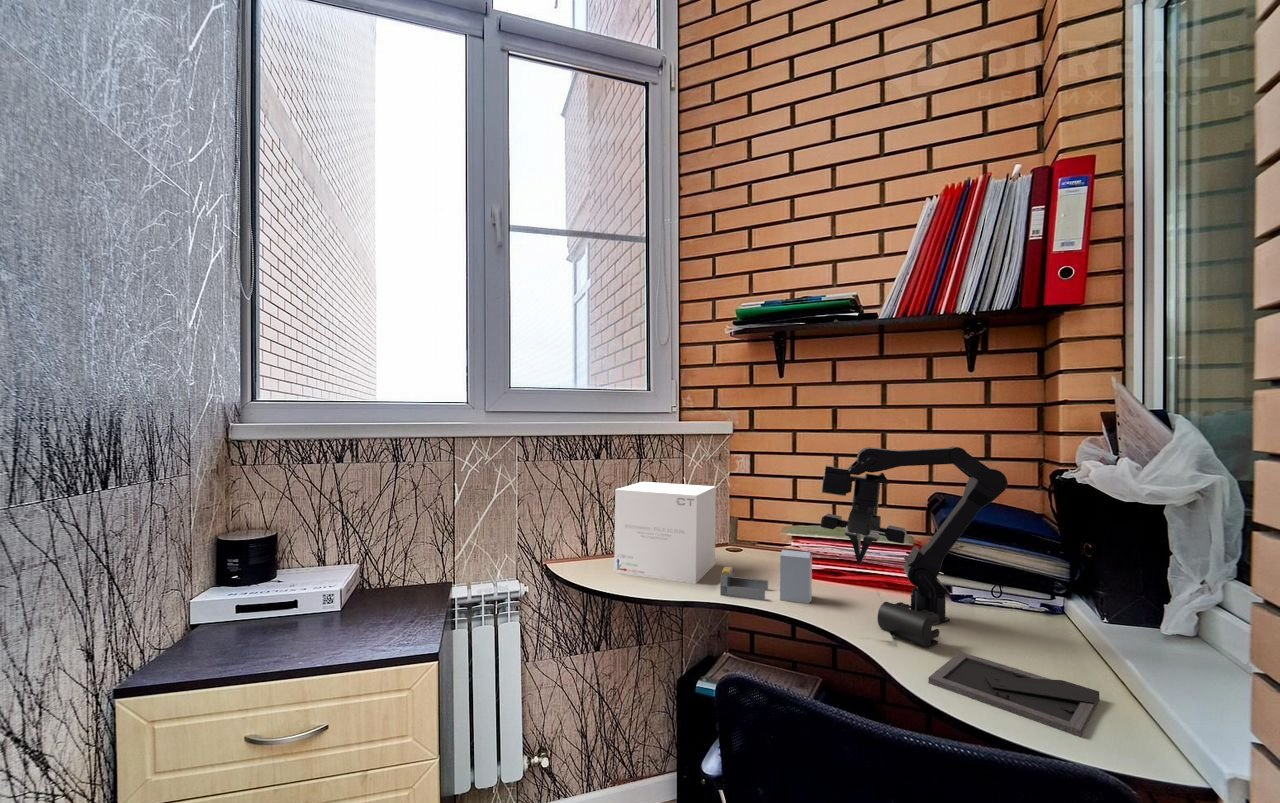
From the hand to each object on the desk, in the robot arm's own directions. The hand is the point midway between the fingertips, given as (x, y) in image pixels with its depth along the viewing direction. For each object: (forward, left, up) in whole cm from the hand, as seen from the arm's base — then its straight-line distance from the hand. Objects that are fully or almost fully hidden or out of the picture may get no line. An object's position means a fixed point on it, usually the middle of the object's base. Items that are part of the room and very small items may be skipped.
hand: (859, 563), depth 131 cm
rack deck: (+15, +15, -11) cm, 24 cm away
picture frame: (-39, +7, -12) cm, 41 cm away
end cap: (-17, +4, -12) cm, 21 cm away
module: (+10, +10, -10) cm, 18 cm away
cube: (+50, +25, -12) cm, 57 cm away
